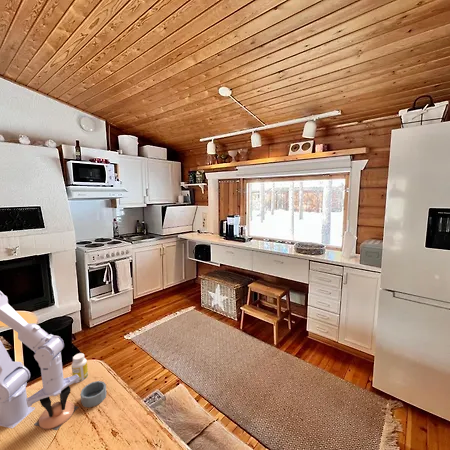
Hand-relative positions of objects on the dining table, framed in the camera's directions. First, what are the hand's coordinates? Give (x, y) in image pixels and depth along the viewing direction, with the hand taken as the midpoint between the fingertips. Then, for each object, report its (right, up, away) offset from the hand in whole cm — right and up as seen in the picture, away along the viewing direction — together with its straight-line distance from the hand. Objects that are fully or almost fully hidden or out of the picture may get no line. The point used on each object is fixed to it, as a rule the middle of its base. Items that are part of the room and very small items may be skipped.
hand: (56, 411), depth 86 cm
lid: (0, -1, 0) cm, 1 cm away
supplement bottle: (-2, 0, +18) cm, 18 cm away
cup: (+9, -1, +7) cm, 12 cm away
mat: (0, -2, 0) cm, 2 cm away
